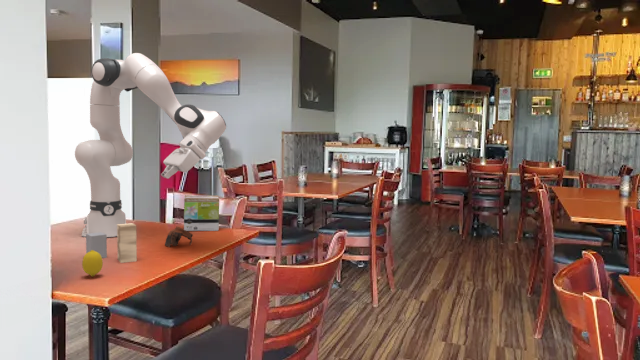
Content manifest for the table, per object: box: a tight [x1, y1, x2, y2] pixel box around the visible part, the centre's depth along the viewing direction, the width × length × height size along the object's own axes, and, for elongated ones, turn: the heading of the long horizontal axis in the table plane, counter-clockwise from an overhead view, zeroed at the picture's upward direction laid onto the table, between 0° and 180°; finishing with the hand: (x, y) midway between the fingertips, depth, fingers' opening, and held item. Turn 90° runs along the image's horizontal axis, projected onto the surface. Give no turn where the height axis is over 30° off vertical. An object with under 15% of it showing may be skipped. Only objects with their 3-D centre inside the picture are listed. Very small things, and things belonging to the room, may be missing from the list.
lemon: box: [81, 250, 104, 278], centre depth 153 cm, size 6×6×8 cm
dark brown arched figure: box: [164, 226, 194, 248], centre depth 195 cm, size 12×10×8 cm
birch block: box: [116, 222, 138, 264], centre depth 172 cm, size 5×5×12 cm
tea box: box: [183, 194, 220, 232], centre depth 229 cm, size 15×10×15 cm, turn 104°
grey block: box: [85, 232, 108, 259], centre depth 176 cm, size 5×5×8 cm
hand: (164, 176), depth 180 cm, fingers closed
